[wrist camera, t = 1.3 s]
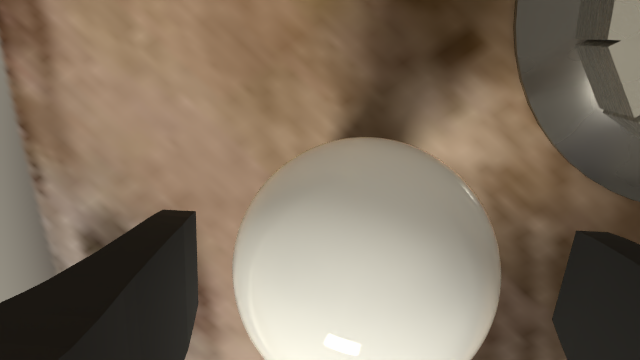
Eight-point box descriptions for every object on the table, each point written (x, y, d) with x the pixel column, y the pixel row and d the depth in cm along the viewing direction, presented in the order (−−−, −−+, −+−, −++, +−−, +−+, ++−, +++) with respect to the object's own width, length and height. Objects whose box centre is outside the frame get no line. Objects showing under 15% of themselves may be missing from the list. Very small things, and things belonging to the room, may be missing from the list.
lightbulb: (318, 289, 22) (299, 517, 12) (241, 148, 21) (142, 262, 10) (466, 221, 22) (591, 403, 11) (396, 70, 20) (460, 109, 10)
